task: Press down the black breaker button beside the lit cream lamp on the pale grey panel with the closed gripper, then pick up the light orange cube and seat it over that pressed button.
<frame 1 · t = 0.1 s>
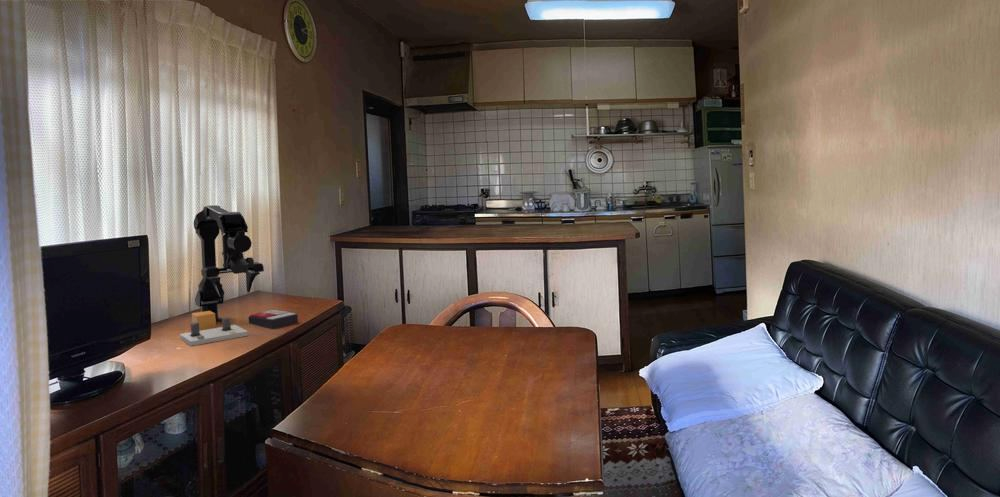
hand: (234, 294, 197), 14 cm above the sideboard, fingers open, 9 cm apart
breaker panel: (214, 336, 197), on the sideboard
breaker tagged: (226, 324, 200), point 3 cm above the sideboard, slide at 0.0 cm
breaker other: (195, 329, 193), point 3 cm above the sideboard, slide at 0.0 cm
light orange cube: (204, 329, 206), on the sideboard
calculator: (273, 324, 216), on the sideboard
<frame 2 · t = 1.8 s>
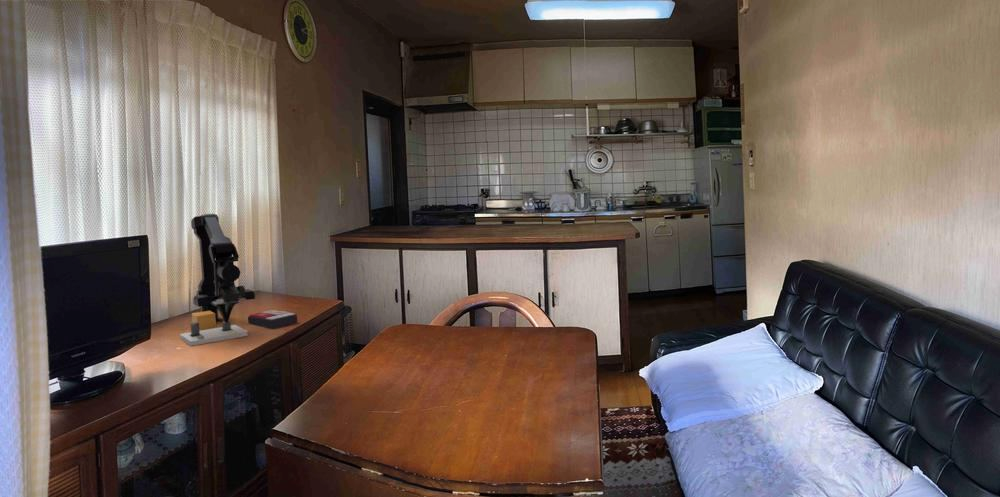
hand: (226, 321, 200), 4 cm above the sideboard, fingers closed, pressing on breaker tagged
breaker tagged: (226, 327, 200), point 2 cm above the sideboard, slide at 1.2 cm, touching gripper
everything else where it was.
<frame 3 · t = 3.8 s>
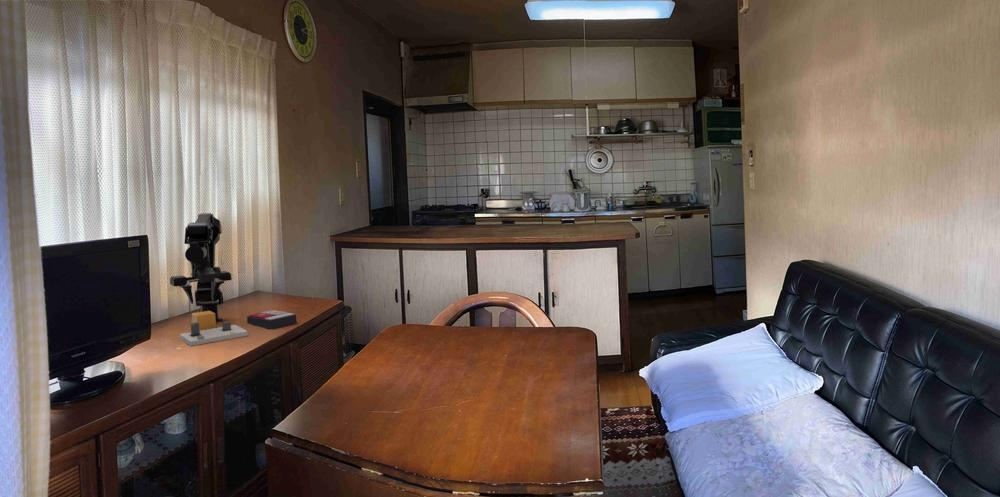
hand: (202, 302, 204), 10 cm above the sideboard, fingers open, 7 cm apart
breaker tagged: (226, 327, 200), point 2 cm above the sideboard, slide at 1.4 cm
everything else where it was.
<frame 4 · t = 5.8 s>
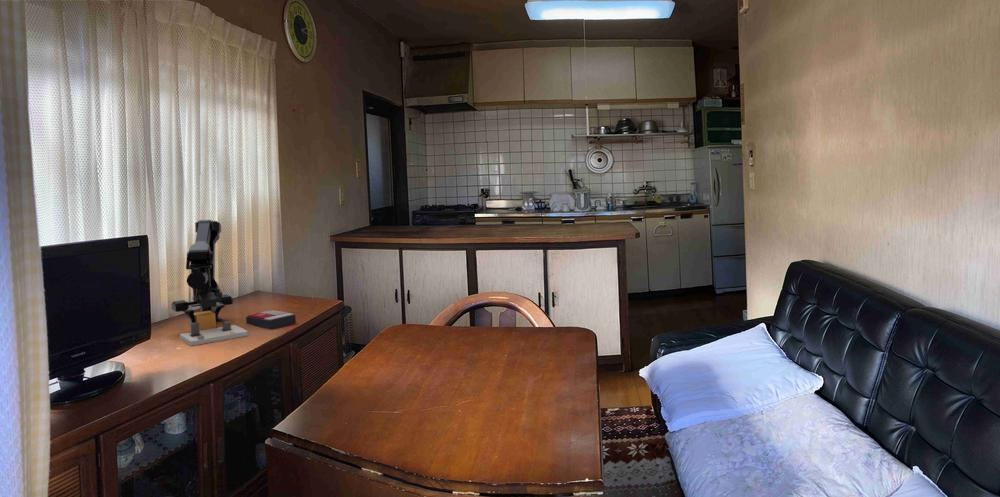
hand: (204, 326, 205), 1 cm above the sideboard, fingers closed on light orange cube, 6 cm apart
light orange cube: (204, 329, 206), on the sideboard, touching gripper
everything else where it was.
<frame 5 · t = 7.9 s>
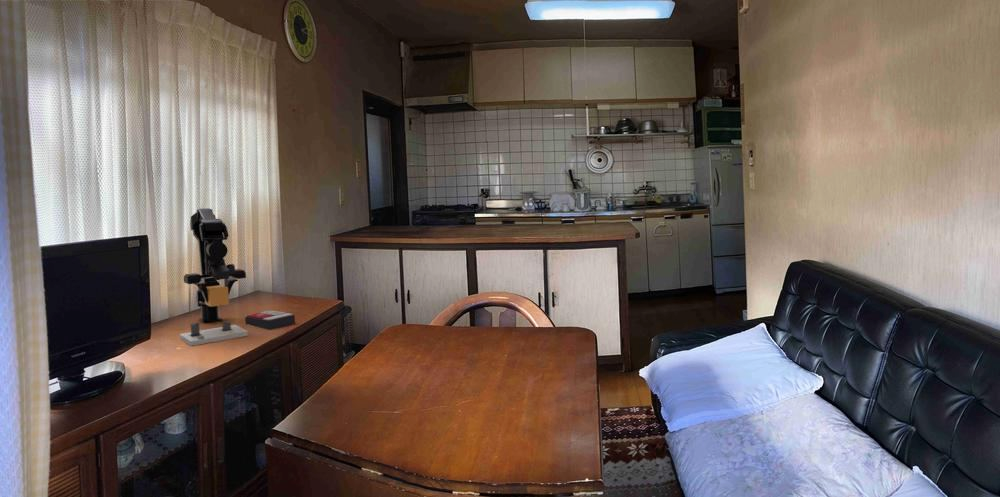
hand: (216, 300, 200), 11 cm above the sideboard, fingers closed on light orange cube, 6 cm apart
light orange cube: (217, 304, 200), point 10 cm above the sideboard, touching gripper
when the fingers open (4 cm above the sideboard, at t = 10.0 s): light orange cube stays where it is, resting on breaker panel.
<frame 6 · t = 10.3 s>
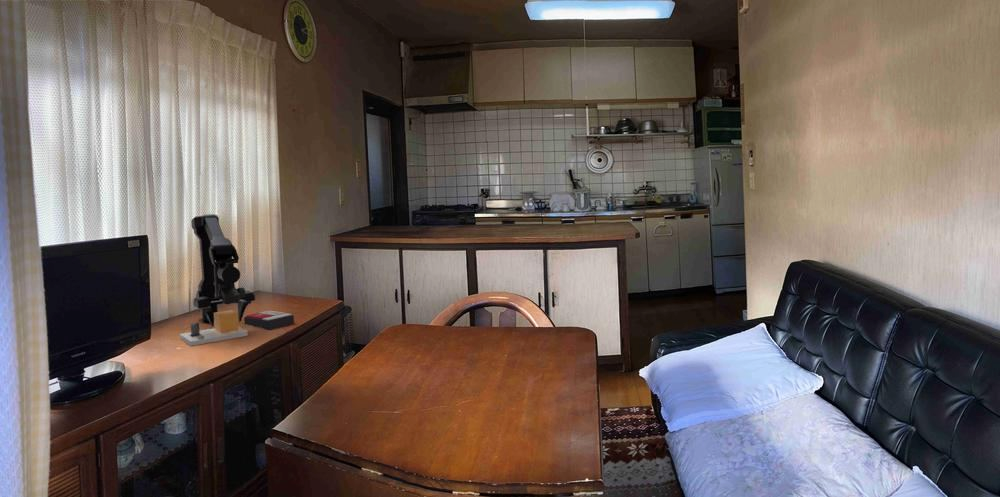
hand: (226, 323, 200), 4 cm above the sideboard, fingers open, 9 cm apart
light orange cube: (226, 329, 200), point 1 cm above the sideboard, touching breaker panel
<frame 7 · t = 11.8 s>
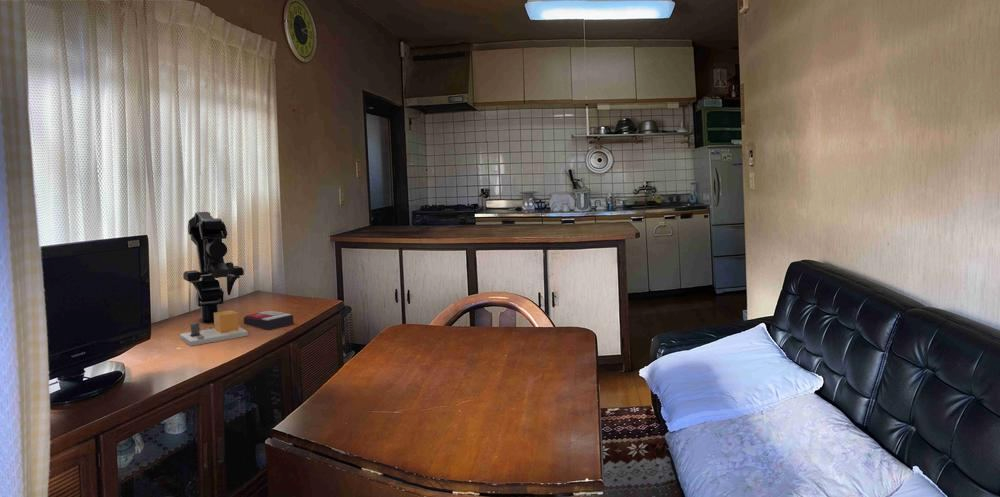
hand: (215, 297, 206), 12 cm above the sideboard, fingers open, 9 cm apart
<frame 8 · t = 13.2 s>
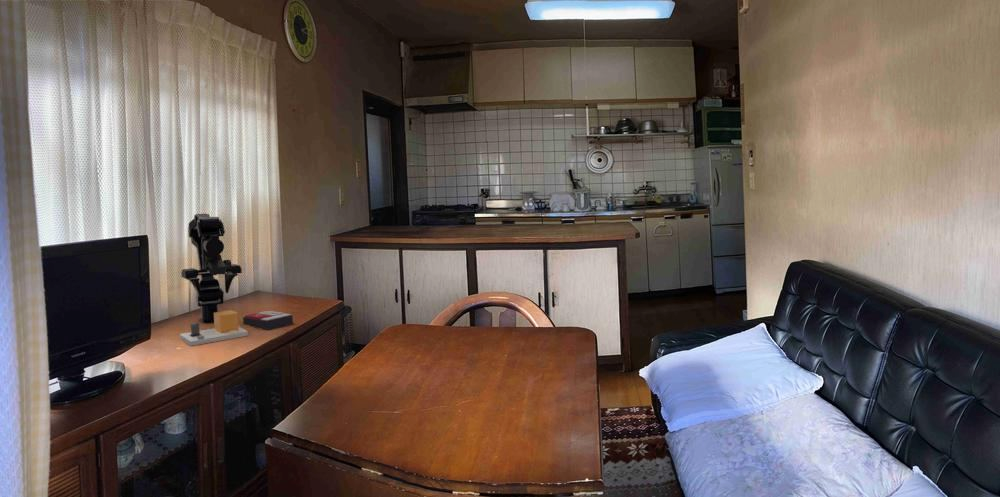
hand: (213, 294, 207), 12 cm above the sideboard, fingers open, 9 cm apart
at the end: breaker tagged slide at 1.4 cm; light orange cube 0.0 cm from the target spot on the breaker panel, point 1.5 cm above the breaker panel's base; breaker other slide at 0.0 cm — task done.
